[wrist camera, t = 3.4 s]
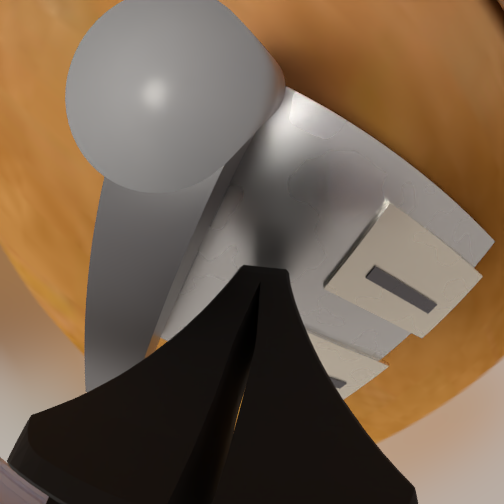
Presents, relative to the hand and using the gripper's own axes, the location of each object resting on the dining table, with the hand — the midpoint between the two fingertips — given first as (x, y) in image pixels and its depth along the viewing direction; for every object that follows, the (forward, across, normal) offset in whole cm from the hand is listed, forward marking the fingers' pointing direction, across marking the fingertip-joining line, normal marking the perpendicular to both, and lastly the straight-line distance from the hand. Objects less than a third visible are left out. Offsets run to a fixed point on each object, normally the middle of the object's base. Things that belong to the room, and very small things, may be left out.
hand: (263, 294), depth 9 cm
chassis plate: (+2, 0, 0) cm, 2 cm away
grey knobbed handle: (+1, +3, -1) cm, 3 cm away
